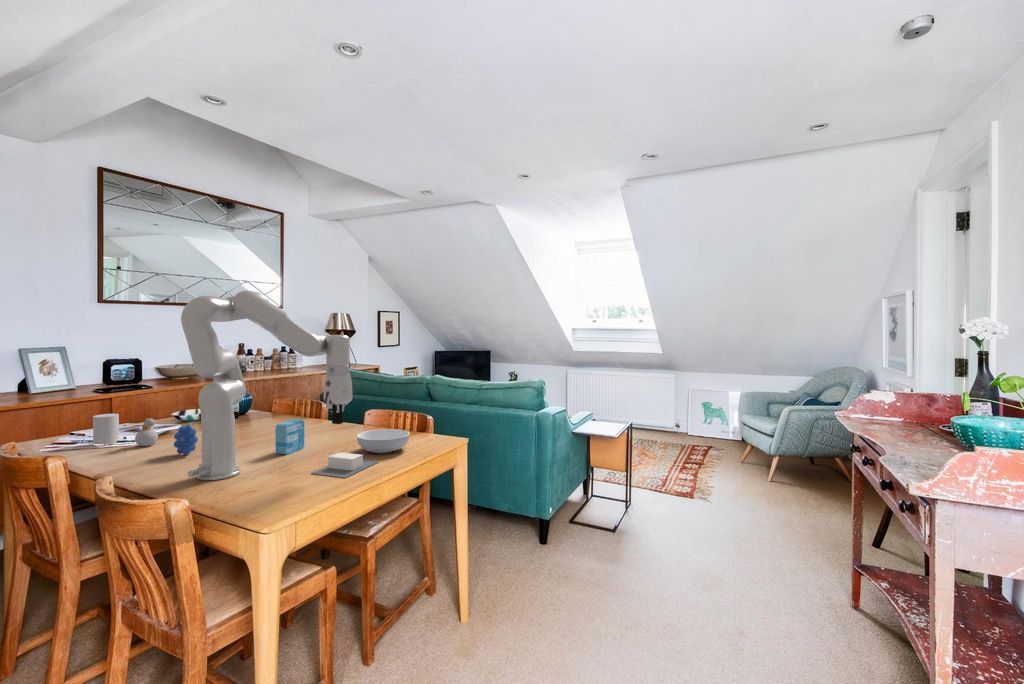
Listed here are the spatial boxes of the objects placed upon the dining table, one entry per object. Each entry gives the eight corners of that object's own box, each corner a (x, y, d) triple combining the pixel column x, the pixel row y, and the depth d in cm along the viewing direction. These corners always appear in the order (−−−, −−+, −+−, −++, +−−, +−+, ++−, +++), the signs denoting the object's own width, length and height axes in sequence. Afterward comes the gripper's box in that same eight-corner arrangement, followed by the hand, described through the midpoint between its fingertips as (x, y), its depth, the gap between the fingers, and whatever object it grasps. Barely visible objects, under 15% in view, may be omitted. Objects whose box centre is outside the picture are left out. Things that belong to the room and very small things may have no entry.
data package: (285, 455, 180) (285, 425, 180) (275, 455, 181) (275, 424, 181) (304, 448, 192) (304, 419, 192) (294, 447, 193) (294, 418, 193)
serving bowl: (420, 448, 194) (420, 432, 193) (382, 460, 176) (382, 442, 175) (384, 441, 204) (384, 426, 204) (345, 452, 186) (345, 435, 186)
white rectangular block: (352, 459, 161) (362, 454, 167) (328, 456, 164) (339, 452, 169) (352, 471, 161) (362, 466, 167) (328, 468, 164) (339, 463, 170)
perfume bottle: (149, 443, 197) (148, 414, 196) (166, 444, 194) (166, 416, 194) (130, 447, 190) (130, 418, 189) (148, 449, 187) (148, 419, 187)
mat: (345, 478, 154) (345, 477, 154) (310, 473, 158) (310, 473, 158) (379, 462, 173) (379, 461, 173) (347, 458, 177) (347, 457, 177)
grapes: (207, 453, 181) (207, 423, 181) (190, 458, 175) (190, 426, 175) (186, 450, 185) (185, 421, 185) (168, 455, 179) (168, 424, 178)
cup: (122, 443, 196) (121, 415, 196) (97, 447, 189) (97, 418, 189) (114, 440, 200) (114, 412, 200) (90, 444, 193) (89, 415, 193)
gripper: (332, 373, 152) (332, 428, 152) (360, 369, 166) (359, 420, 167) (313, 371, 154) (313, 426, 155) (342, 368, 168) (342, 418, 169)
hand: (337, 423), depth 161 cm, fingers closed
